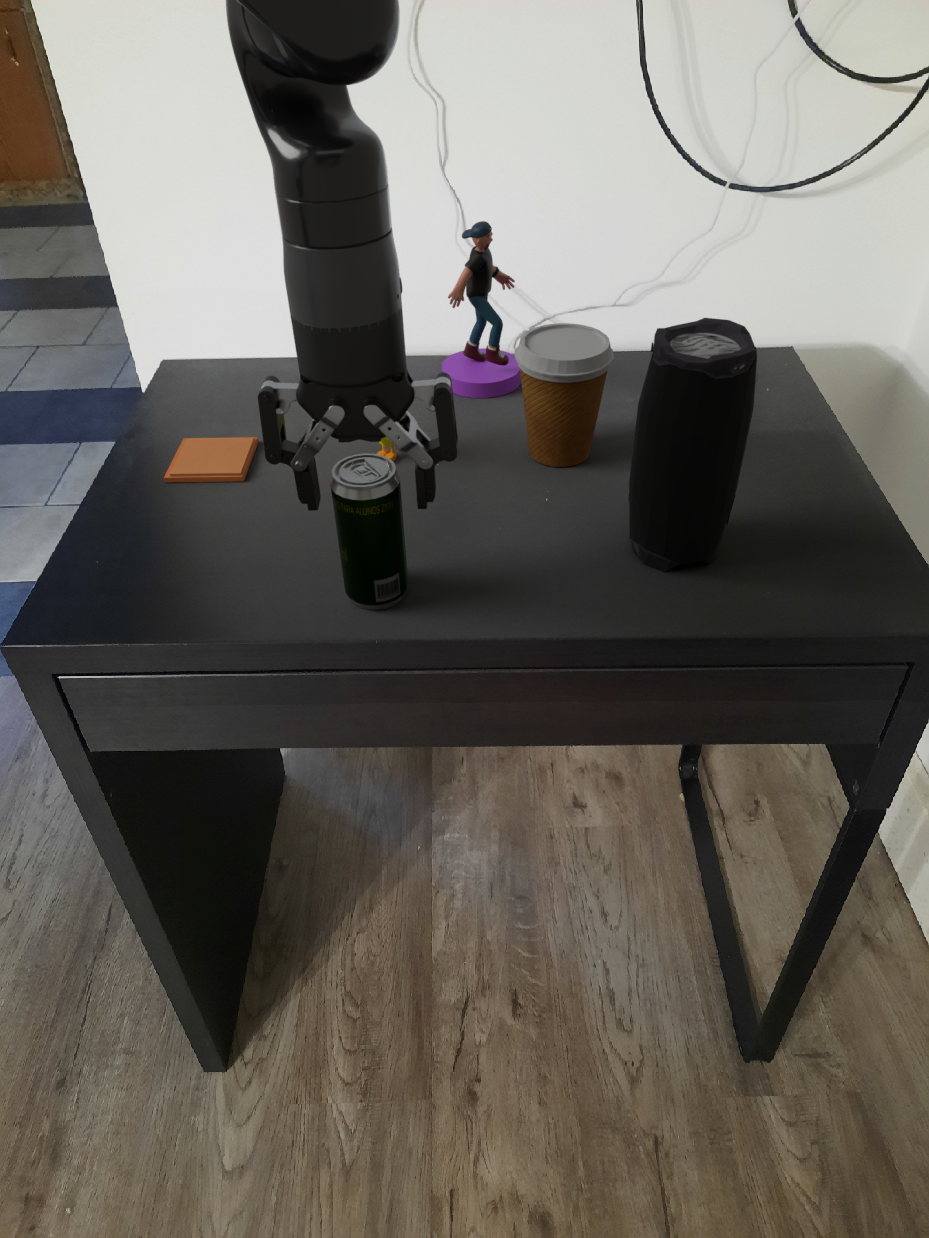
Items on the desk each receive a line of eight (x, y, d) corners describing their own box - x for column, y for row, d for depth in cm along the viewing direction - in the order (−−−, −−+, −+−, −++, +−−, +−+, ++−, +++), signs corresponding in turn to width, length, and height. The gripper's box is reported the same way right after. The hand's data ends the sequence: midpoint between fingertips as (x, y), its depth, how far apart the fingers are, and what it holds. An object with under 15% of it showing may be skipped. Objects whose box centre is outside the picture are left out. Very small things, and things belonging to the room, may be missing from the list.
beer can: (421, 594, 76) (413, 471, 68) (369, 621, 74) (354, 496, 66) (384, 565, 79) (372, 444, 72) (333, 590, 77) (315, 468, 69)
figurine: (512, 401, 102) (515, 237, 91) (433, 394, 104) (425, 232, 93) (527, 366, 109) (531, 209, 98) (453, 360, 111) (448, 205, 99)
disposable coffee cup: (620, 466, 91) (632, 353, 83) (532, 483, 89) (536, 369, 81) (583, 423, 98) (590, 315, 90) (500, 438, 96) (500, 329, 88)
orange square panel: (165, 482, 91) (162, 475, 90) (184, 443, 97) (182, 435, 96) (243, 481, 91) (242, 474, 90) (258, 442, 97) (257, 434, 96)
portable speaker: (605, 556, 80) (625, 344, 67) (654, 508, 85) (682, 304, 73) (694, 591, 76) (734, 372, 63) (740, 538, 81) (785, 327, 69)
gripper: (228, 326, 58) (270, 533, 68) (450, 321, 57) (458, 530, 68) (250, 283, 63) (287, 480, 74) (453, 278, 63) (460, 477, 73)
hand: (369, 504), depth 71 cm, fingers open, 8 cm apart
